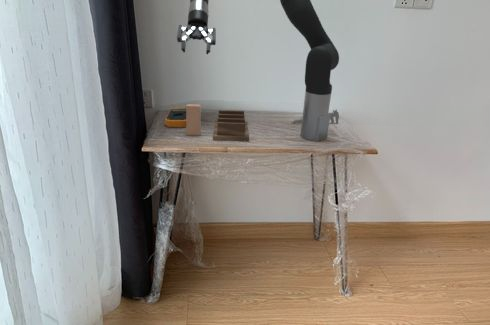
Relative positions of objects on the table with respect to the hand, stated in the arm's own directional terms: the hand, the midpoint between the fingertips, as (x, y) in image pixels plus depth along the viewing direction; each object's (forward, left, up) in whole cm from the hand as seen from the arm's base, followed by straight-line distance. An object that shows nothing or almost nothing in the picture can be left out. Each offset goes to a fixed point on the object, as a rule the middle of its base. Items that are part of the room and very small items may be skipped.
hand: (195, 52), depth 133 cm
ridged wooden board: (-14, -6, -28) cm, 32 cm away
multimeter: (+8, +3, -29) cm, 30 cm away
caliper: (-26, -42, -28) cm, 57 cm away
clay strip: (-8, +7, -28) cm, 30 cm away
